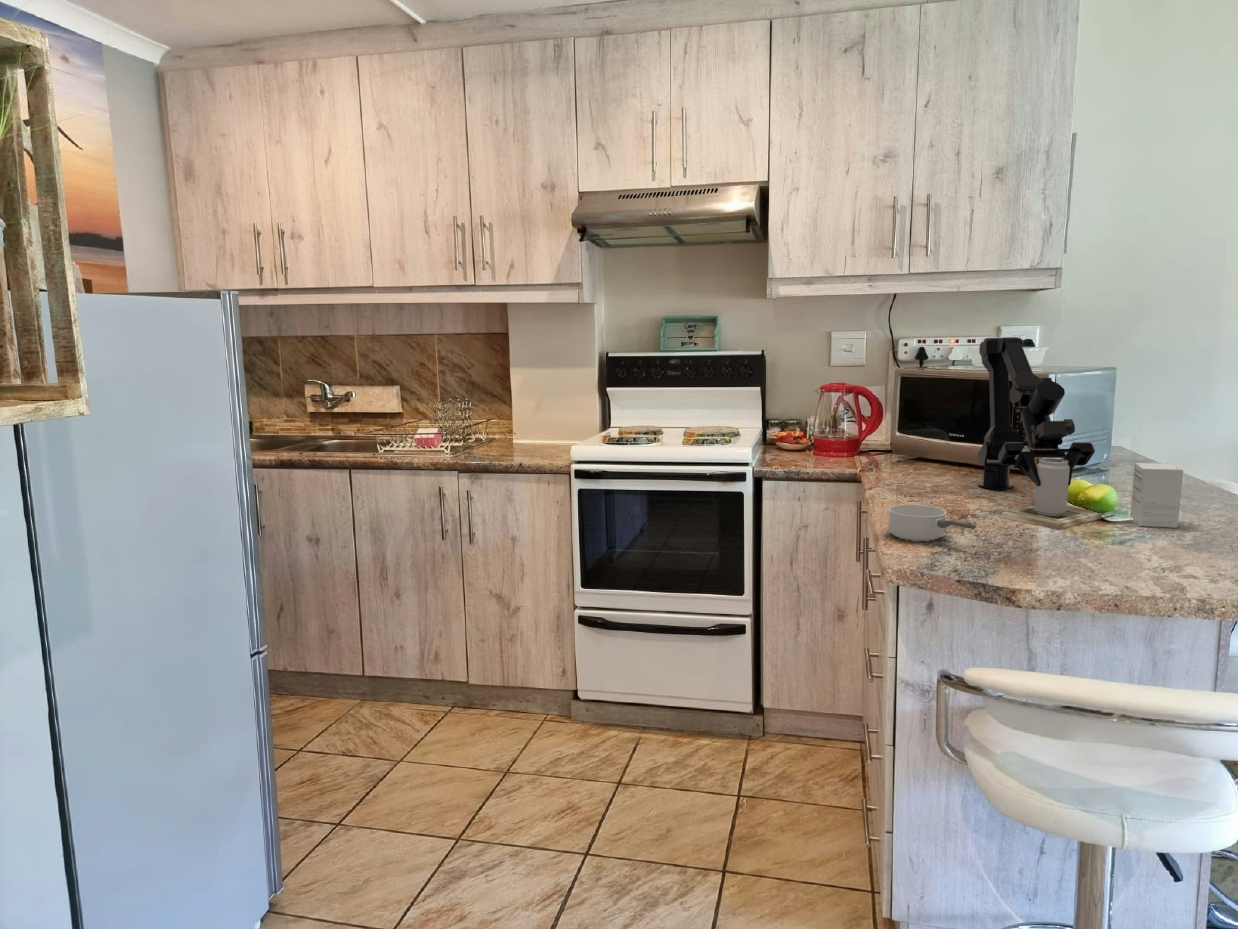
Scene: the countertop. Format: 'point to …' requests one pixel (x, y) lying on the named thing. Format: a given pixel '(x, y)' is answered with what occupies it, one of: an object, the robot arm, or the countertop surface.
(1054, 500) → the beverage can
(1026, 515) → the board
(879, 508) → the countertop surface
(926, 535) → the saucepan
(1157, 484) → the supplement box
